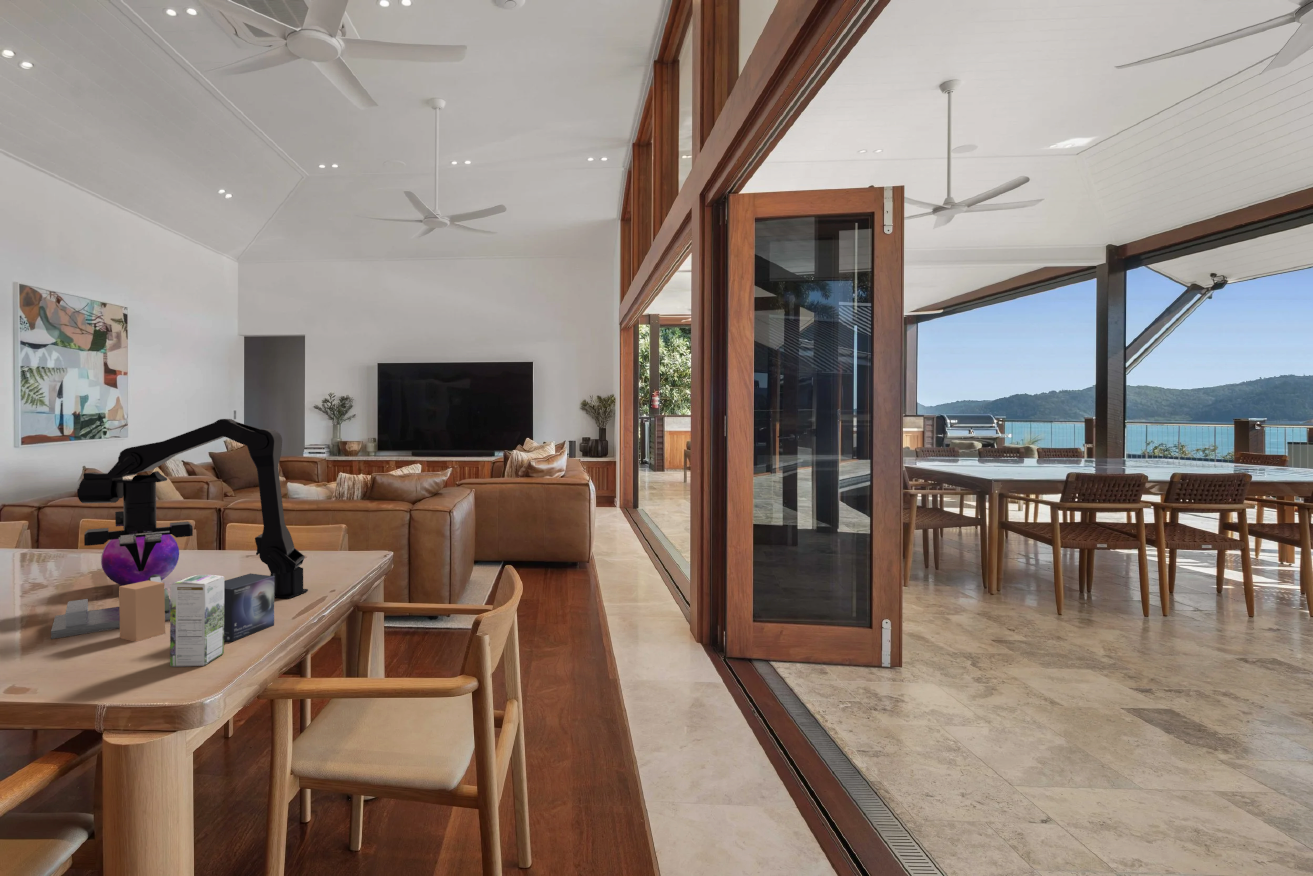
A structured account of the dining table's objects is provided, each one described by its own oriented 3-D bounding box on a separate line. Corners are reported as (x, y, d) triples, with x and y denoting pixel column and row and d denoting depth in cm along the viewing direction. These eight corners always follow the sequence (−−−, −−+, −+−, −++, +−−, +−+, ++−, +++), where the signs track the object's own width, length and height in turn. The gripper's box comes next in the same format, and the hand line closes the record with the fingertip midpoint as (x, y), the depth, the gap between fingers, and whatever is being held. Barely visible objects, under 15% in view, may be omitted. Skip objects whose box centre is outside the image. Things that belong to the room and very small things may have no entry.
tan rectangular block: (148, 630, 126) (148, 580, 126) (165, 633, 124) (164, 583, 124) (120, 638, 121) (118, 586, 121) (136, 641, 119) (135, 589, 119)
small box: (232, 643, 119) (231, 588, 119) (203, 640, 121) (202, 586, 120) (276, 625, 130) (276, 574, 129) (249, 622, 131) (249, 572, 131)
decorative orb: (190, 584, 159) (189, 525, 159) (115, 598, 147) (114, 534, 146) (164, 575, 167) (164, 519, 167) (91, 588, 155) (90, 527, 154)
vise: (188, 603, 144) (188, 584, 144) (193, 616, 135) (193, 596, 134) (55, 622, 129) (55, 602, 129) (51, 639, 120) (50, 616, 120)
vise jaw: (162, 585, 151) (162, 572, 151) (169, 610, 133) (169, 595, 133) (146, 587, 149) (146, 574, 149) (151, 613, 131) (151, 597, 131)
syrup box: (191, 654, 113) (190, 574, 113) (225, 654, 114) (224, 574, 113) (169, 667, 108) (168, 583, 107) (206, 666, 108) (204, 582, 108)
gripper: (188, 495, 154) (189, 559, 155) (85, 501, 142) (86, 570, 143) (192, 500, 146) (193, 567, 146) (83, 507, 134) (84, 580, 134)
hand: (141, 571), depth 143 cm, fingers closed
